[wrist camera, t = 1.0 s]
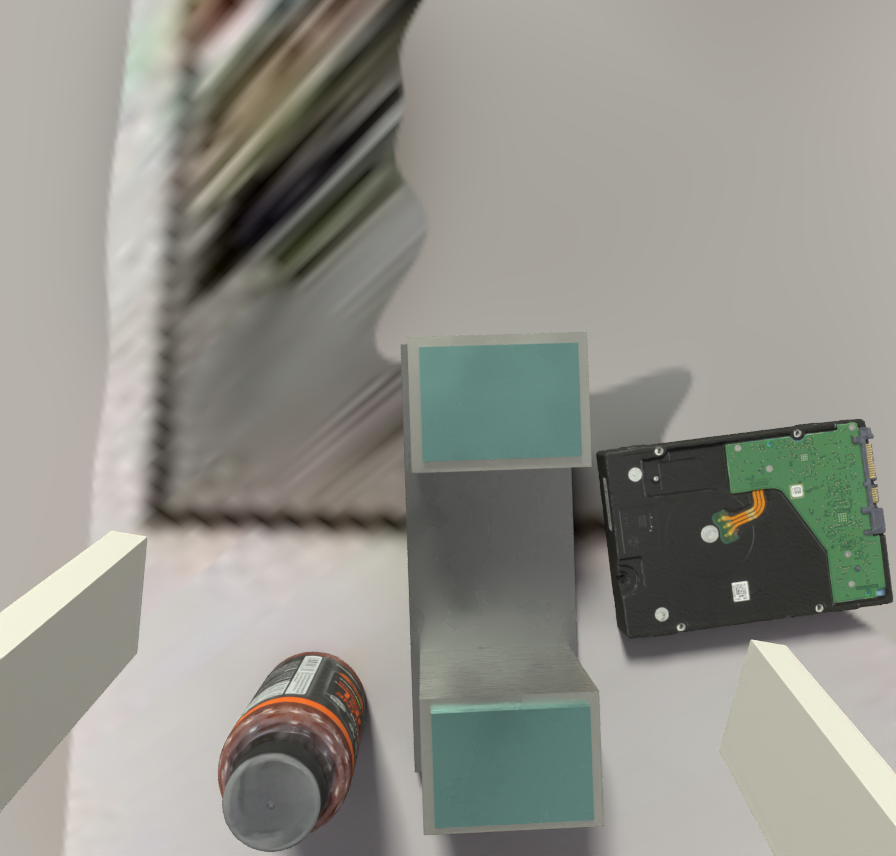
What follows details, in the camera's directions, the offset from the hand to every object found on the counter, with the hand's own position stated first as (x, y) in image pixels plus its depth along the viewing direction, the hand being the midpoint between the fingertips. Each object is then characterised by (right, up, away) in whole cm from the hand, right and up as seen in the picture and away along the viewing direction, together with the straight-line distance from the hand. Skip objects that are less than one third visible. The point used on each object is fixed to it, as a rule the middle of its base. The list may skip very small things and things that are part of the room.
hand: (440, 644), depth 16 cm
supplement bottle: (-7, -10, +25) cm, 28 cm away
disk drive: (+16, -1, +26) cm, 31 cm away
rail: (+2, -2, +25) cm, 25 cm away
